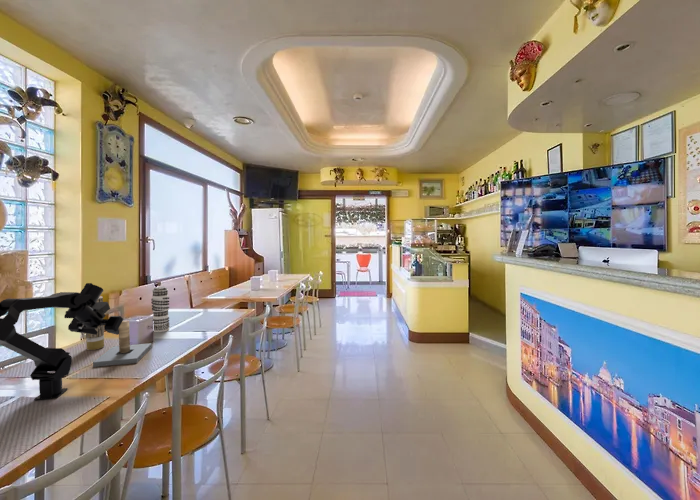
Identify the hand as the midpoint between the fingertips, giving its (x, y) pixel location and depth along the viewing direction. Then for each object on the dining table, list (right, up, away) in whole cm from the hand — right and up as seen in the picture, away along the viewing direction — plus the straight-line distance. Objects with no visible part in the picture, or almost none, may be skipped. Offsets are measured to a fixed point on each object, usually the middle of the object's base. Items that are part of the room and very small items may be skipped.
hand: (107, 333), depth 135 cm
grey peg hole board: (0, -13, +11) cm, 17 cm away
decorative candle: (-8, -11, +51) cm, 53 cm away
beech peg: (0, -13, +11) cm, 17 cm away
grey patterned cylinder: (-22, -13, +21) cm, 33 cm away
